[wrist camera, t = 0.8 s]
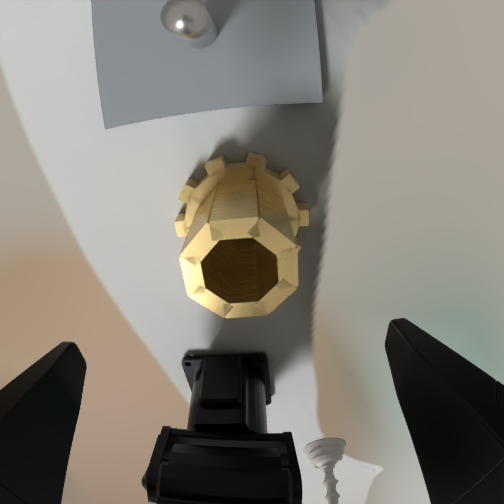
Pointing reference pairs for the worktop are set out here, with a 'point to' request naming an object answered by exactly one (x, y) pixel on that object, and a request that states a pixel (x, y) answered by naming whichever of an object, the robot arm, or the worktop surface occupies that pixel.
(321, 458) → the chalice
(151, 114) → the plate
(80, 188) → the worktop surface
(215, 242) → the planet gear
